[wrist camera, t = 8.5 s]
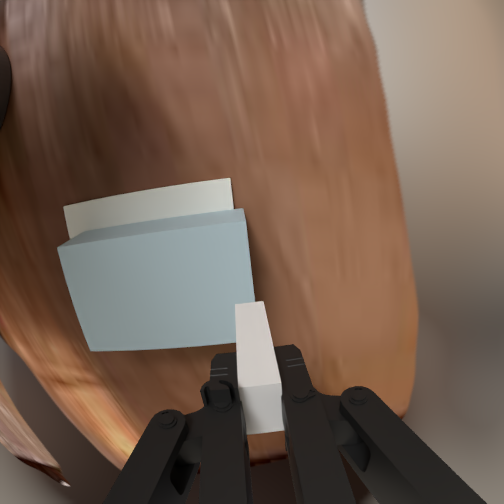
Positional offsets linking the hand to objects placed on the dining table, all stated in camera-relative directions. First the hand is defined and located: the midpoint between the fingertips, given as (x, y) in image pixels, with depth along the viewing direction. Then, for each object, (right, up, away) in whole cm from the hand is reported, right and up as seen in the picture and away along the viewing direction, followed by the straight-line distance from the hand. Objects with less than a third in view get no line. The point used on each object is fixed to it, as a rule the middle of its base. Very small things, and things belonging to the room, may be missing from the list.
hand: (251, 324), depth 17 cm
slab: (0, +2, +7) cm, 8 cm away
